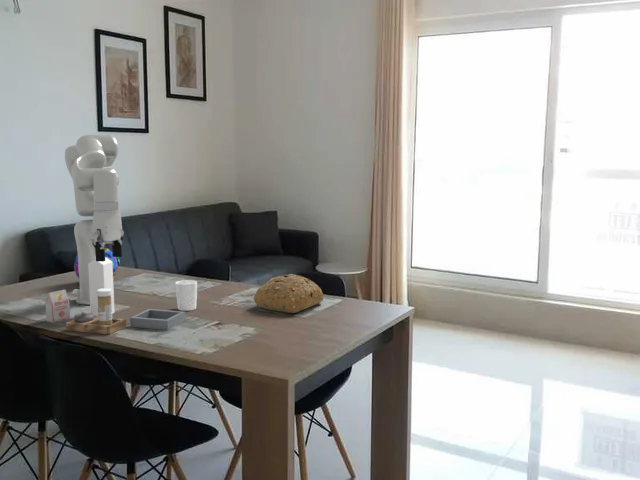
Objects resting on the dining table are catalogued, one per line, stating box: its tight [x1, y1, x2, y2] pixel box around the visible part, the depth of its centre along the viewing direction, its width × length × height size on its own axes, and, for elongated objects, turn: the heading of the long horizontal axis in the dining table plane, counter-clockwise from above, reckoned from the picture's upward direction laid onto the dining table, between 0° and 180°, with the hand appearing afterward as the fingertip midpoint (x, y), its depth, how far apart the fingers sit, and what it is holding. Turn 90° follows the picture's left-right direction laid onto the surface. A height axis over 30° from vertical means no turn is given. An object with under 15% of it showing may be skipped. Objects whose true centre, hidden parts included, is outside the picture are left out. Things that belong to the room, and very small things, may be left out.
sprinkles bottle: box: [97, 288, 113, 326], centre depth 215 cm, size 5×5×14 cm
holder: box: [65, 311, 127, 335], centre depth 217 cm, size 16×9×5 cm, turn 74°
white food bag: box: [45, 289, 71, 323], centre depth 227 cm, size 4×7×10 cm, turn 145°
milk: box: [88, 256, 116, 317], centre depth 233 cm, size 6×6×22 cm
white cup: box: [174, 279, 198, 312], centre depth 242 cm, size 8×8×10 cm
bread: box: [253, 273, 324, 314], centre depth 247 cm, size 24×21×12 cm
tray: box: [129, 308, 186, 331], centre depth 223 cm, size 14×12×3 cm
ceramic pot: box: [73, 247, 121, 279], centre depth 283 cm, size 18×18×15 cm
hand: (109, 258), depth 216 cm, fingers open, 9 cm apart
